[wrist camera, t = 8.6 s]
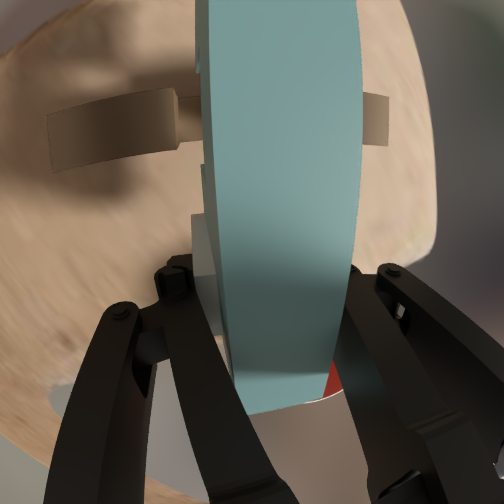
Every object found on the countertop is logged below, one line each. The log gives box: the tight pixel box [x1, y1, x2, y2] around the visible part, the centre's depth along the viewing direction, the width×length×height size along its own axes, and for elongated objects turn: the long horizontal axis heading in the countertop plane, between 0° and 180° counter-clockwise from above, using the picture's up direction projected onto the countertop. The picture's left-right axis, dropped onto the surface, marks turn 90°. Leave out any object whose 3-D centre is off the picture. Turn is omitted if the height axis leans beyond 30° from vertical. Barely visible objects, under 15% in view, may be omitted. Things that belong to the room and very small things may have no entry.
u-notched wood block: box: [47, 87, 389, 173], centre depth 16 cm, size 18×3×10 cm, turn 92°
